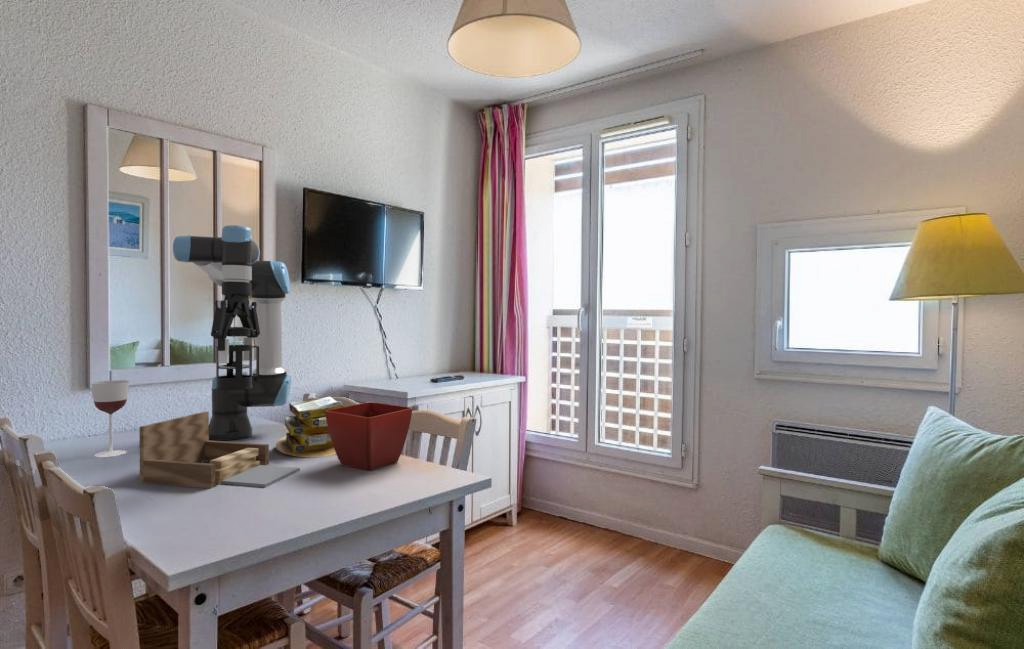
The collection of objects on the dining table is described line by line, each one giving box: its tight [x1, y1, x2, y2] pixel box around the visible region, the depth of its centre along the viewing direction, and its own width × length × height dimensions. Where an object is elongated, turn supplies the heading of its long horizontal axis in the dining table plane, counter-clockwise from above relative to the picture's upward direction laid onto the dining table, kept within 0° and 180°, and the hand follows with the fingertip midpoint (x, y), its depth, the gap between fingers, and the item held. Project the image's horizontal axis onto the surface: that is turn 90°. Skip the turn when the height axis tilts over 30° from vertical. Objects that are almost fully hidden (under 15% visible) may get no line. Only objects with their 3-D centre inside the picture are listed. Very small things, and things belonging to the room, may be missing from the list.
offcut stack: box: [209, 448, 260, 486], centre depth 158 cm, size 18×5×6 cm, turn 171°
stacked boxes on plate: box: [275, 396, 346, 458], centre depth 190 cm, size 25×25×17 cm
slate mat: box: [221, 464, 301, 488], centre depth 157 cm, size 16×13×1 cm
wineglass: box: [91, 379, 130, 458], centre depth 180 cm, size 9×10×23 cm
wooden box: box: [139, 411, 270, 489], centre depth 160 cm, size 24×22×15 cm
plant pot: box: [325, 401, 413, 471], centre depth 172 cm, size 19×19×17 cm
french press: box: [215, 307, 259, 391], centre depth 157 cm, size 12×9×23 cm
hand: (236, 361), depth 157 cm, fingers closed on french press, 9 cm apart
